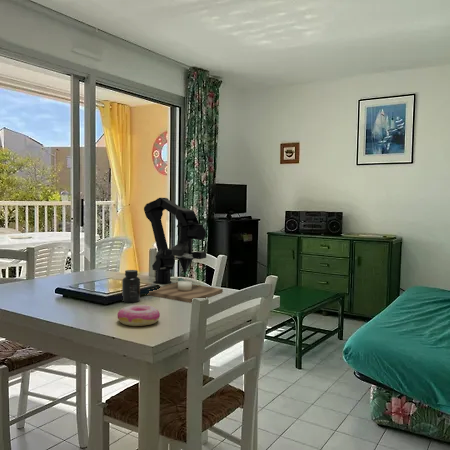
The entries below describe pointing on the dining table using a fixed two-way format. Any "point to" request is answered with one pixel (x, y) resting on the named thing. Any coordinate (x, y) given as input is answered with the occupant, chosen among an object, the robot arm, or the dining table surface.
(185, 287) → the green and white block
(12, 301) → the dining table surface
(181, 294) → the walnut base
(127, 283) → the supplement bottle
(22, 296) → the dining table surface
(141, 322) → the donut
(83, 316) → the dining table surface
